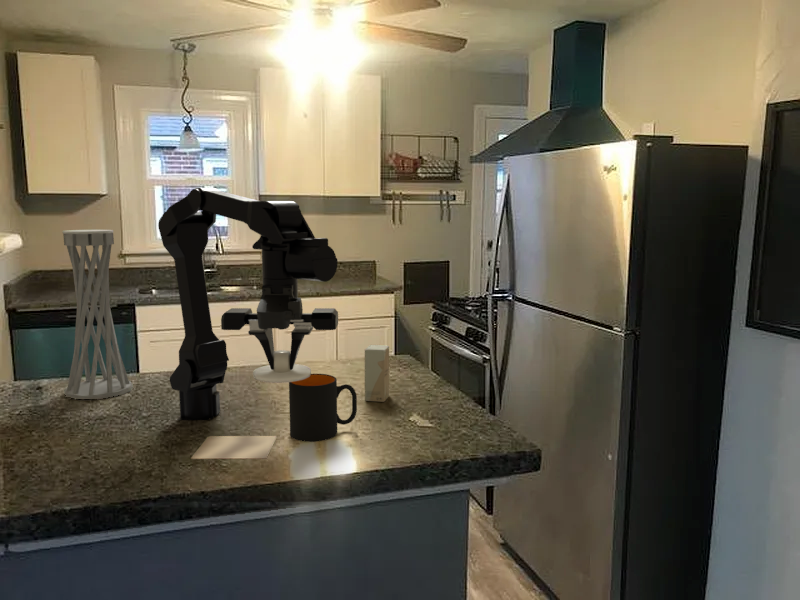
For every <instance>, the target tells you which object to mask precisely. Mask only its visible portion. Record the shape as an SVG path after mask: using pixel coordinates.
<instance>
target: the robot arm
mask: <svg viewBox="0 0 800 600" xmlns="http://www.w3.org/2000/svg"><path fill="white" fill-rule="evenodd" d="M217 215H218V216H222V217H224V218H228V219H231V220H234V221H239V222H242V223H244V224H245V225H247V226H248V228H249V230H251V231H252V232H254V233H257V234H258V235H260V236H259V238H258V240H256V241H255V242H254V243H253V244H252V247H251V248H252V249H253V250H261V275H262V286H261V287H262V288H261V297H260V299H259V303H258V305H257V308H256V313H255V312H254V313H253V311H252V308H248V307H247V308H246V307H245V308H244V307H243V308H240V307H239V308H238V307H234V308H233V307H231V308H230V309H228V310H227V311H225V312H224V313H222V315H221V318H220V322H221V323H220V324H221V327H220V328H221V331H222V330H223V331H241V330H242V328H243V327H244V326H246V325H248V327H249V330H248V331H247V333H248V335H250V336H254V337H255V338H256V339H257V340H258V342H259V343H260V345H261V347H262V350H263V352H264V354H265V358H266V360H267V363H268V365H270V367H271V370H274V357H273V352H274V351H275V346H274V345H275V344H274V337H273V336H274V334H273V329H278V330H282V331H283V330H287V329H289V327H290V325H293V327H294V328H293V329H292V331H291V332H290V335H291V344H290V370H293V367H294V364H296V361H297V358H298V355H299V351H300V348H301V346H302V342H303V340H304V338H305V336H308V335H310V334H311V333H312V331H313V330H316V331H335V330H337V328H338V325H339V312H338V310H337V309H336V308H334V307H333V308H330V307H328V308H327V307H326V308H322V307H321V308H320V307H318V308H314V309H313V310H312V312H310V313H309V312H307V313H306V312H305V313H304V312H303V301H302V297H299V293H298V292H299V290H298V289H299V288H298V286H299V285H298V280H300V281H301V280H303V281H313V282H322V283H323V282H328V281H331V280H332V278H334V276H335V275H336V273H337V270H338V269H337V268H338V258H337V255H336V253H335V251H334V249H333V248H332V246H330V245H329V239H328V238H327V237H318V238H317V237H315V235H314V233H313V231H312V230H311V228H310V225H309V224H308V223H307V221H306V218H305V217H304V215H303V213H302V210H301V208H300V205H299V204H298V203H297V202H295V201H292V200H258V199H253V198H250V197H246V196H242V195H238V194H234V193H230V192H227V191H222V190H219V189H217V188H216V187H195V188H193V189H192V190H190V192H188V194H187V195H186V196H184V197H183V198H181V199H180V200H177V202H175V203H173V204H172V205H170V206H169V207H168V208H167V210H165V211H164V213H163V214H162V216H161V217H160V218H159V220H158V223H157V224H158V225H157V226H158V231H159V234H160V238H161V242H162V246H163V247H164V249H165V250H166V251H167V252H168V253H169V255H170V256H171V257H172V258H173V260H174V261H173V262H174V265H175V266H174V267H175V274H176V281H177V288H178V293H179V294H178V295H179V301H180V307H181V314H182V316H181V317H182V323H183V327H184V328H183V330H184V338H183V341H182V343H181V345H180V348H179V350H178V365H177V366H176V368H175V369H174V371H172V372H173V373H171V376H170V377H169V378H168V379H169V383H170V387H171V390H175V391H178V392H179V411H180V415H179V417H178V418H177V420H178V421H213V419H214V418H215V417H216V416H217V415H218V414H219V413H220V412H221V399H220V398H221V397H220V395H221V394H220V391H217V384H223V383H224V380H225V375H226V371H227V370H228V362H229V361H230V359H229V355H228V353H227V343H226V341H225V339H219V338H218V336H217V335H216V334H215V332H214V330H213V324H212V319H211V318H212V317H211V312H210V305H209V298H208V291H207V283H206V276H205V268H204V263H203V254H204V252H205V250H206V248H207V245H208V243H209V229H211V228H212V226H213V225H214V224H215V223H217V222H216V221H217Z"/></svg>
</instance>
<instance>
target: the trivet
mask: <svg viewBox="0 0 800 600" xmlns="http://www.w3.org/2000/svg"><path fill="white" fill-rule="evenodd" d="M277 438H278V435H235V436H234V435H226V436H225V435H224V436H223V435H220V436H219V435H216V436H215V435H211V436H210V435H209V436H207V437H206V438H205V440H204V441H203V442H202V444H201V445H200V446H199V447H198V449H197V450H196V451H195V452H194V454H193V455H192V456H191V457H190V459H191V460H217V459H218V460H228V459H229V460H233V459H234V460H242V459H243V460H248V459H249V460H250V459H251V460H252V459H253V460H254V459H255V460H256V459H257V460H258V459H262V460H264V459H267V458H268V456H269V454H270V452H271V450H272V448H273V446H274V444H275V442H276V440H277Z"/></svg>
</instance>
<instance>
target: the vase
mask: <svg viewBox="0 0 800 600" xmlns="http://www.w3.org/2000/svg"><path fill="white" fill-rule="evenodd" d="M62 234H63V236H62V237H63V245H64V246H66V249H67V252H68V256H69V260H70V263H71V266H72V274H73V275H72V276H73V283H74V284H73V285H74V291H75V300H76V301H75V302H76V317H75V329H74V330H75V331H74V343H73V344H74V345H73V346H74V348H73V356H72V360H71V361H72V362H71V367H70V372H69V378H68V384H67V387H66V388H65V389H64V390H63V393H64V394H65V395H66V396H65V395H64V396H65V398H66V397H71V398H76V399H97V400H104V399H103V398H106V399H109V398H108V397H110V398H113V396H114V397H119V396H122V394H123V395H125V394H127V393H129V392H131V391H132V389H133V382H132V381H131V380H129V377H128V375H127V371H126V368H125V364H124V361H123V359H122V355H121V352H120V349H119V344H118V339H117V336H116V335H117V334H116V330H115V325H114V320H113V315H112V310H111V306H110V305H111V304H110V303H111V302H110V277H109V276H110V275H109V274H110V273H109V272H110V271H109V269H110V260H111V252H112V245H114V244H115V241H114V240H115V239H114V229H72V230H71V229H70V230H62ZM89 246H92V254H91V258H90V256H89V252H88V249H87V247H89ZM100 246H101V248H102V251H101V255H100V251H99V248H100ZM77 247H80V253H79V252H78V251H79V250H78V249H77ZM79 254H80V255H79ZM85 267H87V271H88V276H87V274H86V271H85V269H86V268H85ZM95 269H96V270H97V273H95ZM96 274H97V275H96ZM92 285H93V291H92ZM84 291H85V292H84ZM89 303H90V308H89ZM97 304H99V307H98V305H97ZM103 318H104V321H103ZM94 319H95V320H96V322H97V324H96V325H97V326H96V331H95V326H94ZM85 321H87V323H86V325H85ZM101 336H102V339H103V342H104V345H105V362H106V365H105V363H104V359H103V355H102V352H101V348H100V344H101ZM91 338H92V339H91ZM90 339H91V340H92V342H93V346H94V349H93V350H94V351H93V358H92V365H91V366H92V367H91V370H90V361H89V351H88V350H89V349H88V348H89V343H90ZM80 347H81V351H80ZM98 364H99V368H100V372H101V376H102V378H98V379H96V377H97V368H98ZM112 367H113V369H112ZM112 370H114V373H115V376H116V378H115V377H114V378H113V371H112ZM83 373H84V374H85V380H84V381H82V377H83ZM118 395H119V396H118ZM71 398H70V399H71ZM76 399H75V400H76Z"/></svg>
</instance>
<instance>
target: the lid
mask: <svg viewBox="0 0 800 600" xmlns="http://www.w3.org/2000/svg"><path fill="white" fill-rule="evenodd" d="M290 352H291V350H285V349H283V350H282V349H279V350H274V352H273V357H274V370H271V367H270V365H269V364H267V365H264V366H259V367H257V368H255V369H254V370H253V371H252V375H253V379H254V380H256V381H259V382H262V383H263V382H264V383H270V384H271V383H272V384H275V383H276V384H282V383H289V382H294V381H299V380H303V379H306V378H308V377H310V375H311V374H312V369H311V367H309V366H307V365H304V364H298V363H295V364H294V367H293V370H290Z"/></svg>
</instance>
